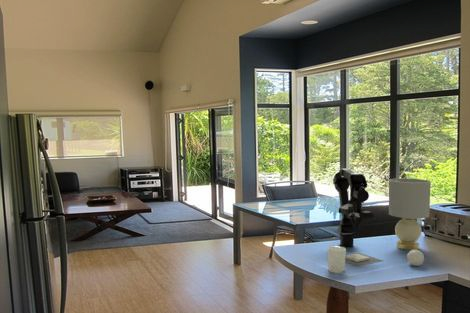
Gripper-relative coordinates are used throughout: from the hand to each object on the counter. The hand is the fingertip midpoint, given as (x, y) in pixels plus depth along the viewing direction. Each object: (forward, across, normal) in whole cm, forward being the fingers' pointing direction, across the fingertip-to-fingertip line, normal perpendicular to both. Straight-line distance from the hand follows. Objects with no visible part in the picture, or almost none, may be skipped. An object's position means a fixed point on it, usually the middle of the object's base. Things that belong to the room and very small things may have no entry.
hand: (355, 229), depth 239 cm
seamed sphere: (+12, +28, +8) cm, 32 cm away
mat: (+12, +10, -8) cm, 18 cm away
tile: (+11, +6, -8) cm, 15 cm away
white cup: (+12, +17, -28) cm, 35 cm away
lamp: (+12, +5, +33) cm, 36 cm away
